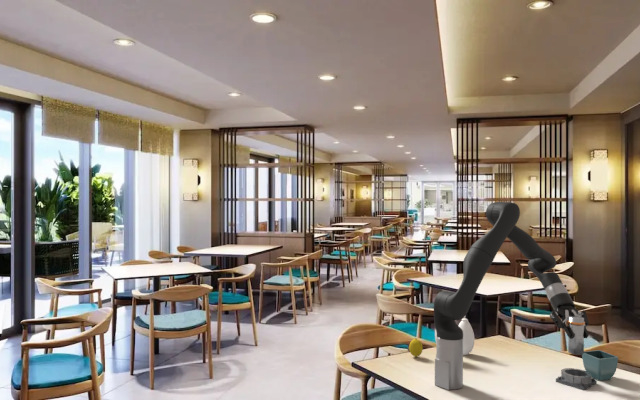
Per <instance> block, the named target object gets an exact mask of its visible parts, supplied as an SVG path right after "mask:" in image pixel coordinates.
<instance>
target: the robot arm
mask: <svg viewBox="0 0 640 400" xmlns="http://www.w3.org/2000/svg"><path fill="white" fill-rule="evenodd" d="M520 216H521V210H520V207H519V205H518V204H517V203H516V202H515V203H514V202H513V201H512V202H511V201H495V202H494V201H493V202H491V203H489V204H488V205H487V207H486V211H485V217H486V219H487V221H488V222H489V224H491V225H492V226H493V227H492V228H491V229H490V230H489V231H488V232H487V233H485V234H484V235H482V236H481V237H479V238H478V239H477V240H476V241H475V242H474V243H472V245H471V246H470V248H469V249H468V251H467V252H466V255H465V257H464V259H463V264H462V265H463V266H462V269H463V270H462V271H463V275H462V276H463V277H462V282H461V284H460V286H459V288H457V289H458V290H456V292H452V291H448V290H442V291H439V292H438V293H437V294H436V296H435V297H434V302H433V321H434V330H435V329H436V332H437V346H436V353H437V358H436V357H435V359H434V386H437V387H439V388H442V389H445V390H448V391H450V390H459V389H462V388H463V386H464V385H463V384H464V383H463V382H464V355H463V330H462V329H461V328H460V327H459V326H458V325H459V324H457V322H456V321H460V320H461V321H462V319H463V318H464V316H465V317H466V316H467V313H468V312H469V310H470V307H471V305H472V304H473V301H474V298H475V295H476V293H477V291H478V289H479V287H480V285H481V283H482V281H483V279H484V277H485V276H486V274H487V272H488V271H489V269H490V267H491V265H492V264H493V262H494V259H495V258H496V255H497V254H498V252H499V250H500V249H501V247H502V245H503V243H504V242H505V240H506V239H509V240H510V242H511V243H512V244H513V245H514V246H515V247H516V249H518V250H519V252H520V253H521V254H522V256H524V257H525V258H526V259H528V262H527V268H528V269H529V270H530V271H531V273H533V275H534V276H535V277H536V278H537V279H538V281H540V283H541V285H542V287H543V289H544V291H545V293H546V297H547V299H548V301H549V303H550V305H551V307H552V309H553V311H552V312H551V313H550V314H549V318H550V319H551V320H552V322H553V323H554V324H555V325H556V327H557V329H562V330H564V332H565V333H566V336H567V337H569V338H570V339H573V338H574V334H573V332H572V330H571V328H570V327H569V323H568V320H569V316H581V317H584V321H585V325H584V339H588V338H589V335H590V333H589V331H588V330H587V327H588V326H589V325H590V322H589V319H588V314H587V311H585V310H582V311H579V310H578V309H577V308H576V306H575V302H574V301H573V298H572V297H571V295H570V293H569V291H568V290H567V288H566V286H565V285H564V283H563V281H562V280H561V277H560V276H559V274H558V273H556V272H555V271H550V270H552V269H554V268H555V267H556V266H557V260H556V257H555V256H554V255H553V254H552V253H550V252H549V251H547V250H546V249H544V248H543V247H541V246H540V245H539V243H538V242H537V241H536V240H535V238H533V237H532V235H530V234H529V233H528V232H526V231H525V230H523V229H521V228H520V227H518V226H517V223H518V221H519V219H520ZM548 271H549V272H548Z"/></svg>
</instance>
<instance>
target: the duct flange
mask: <svg viewBox="0 0 640 400" xmlns="http://www.w3.org/2000/svg"><path fill="white" fill-rule="evenodd" d="M555 382H556V383H558V384H562V385H565V386H569V387H571V388H572V387H573V388H575V389H579V390H582V391H586V390H588V389H589V388H591V387H594V386H595V385H598V384H597V383H598V381H597V379H595V378H593V377H592V376H591V374H590V373H589V372H587V371H586V370H585V369H581V368H580V369H579V368H571V367H567V368H566V367H565V368H562V369H561V371H560V376H557V377H556V378H555Z"/></svg>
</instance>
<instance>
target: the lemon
mask: <svg viewBox="0 0 640 400" xmlns="http://www.w3.org/2000/svg"><path fill="white" fill-rule="evenodd" d="M423 348H424V347H423V344H422V342H421V340H420V339H418V338H414V339H412V340H411V341H410V343H409V347H408V349H409V353H410V354H411V355H412V356H413V357H414V358H418V357H419V356H420V355H422V353H423Z"/></svg>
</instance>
